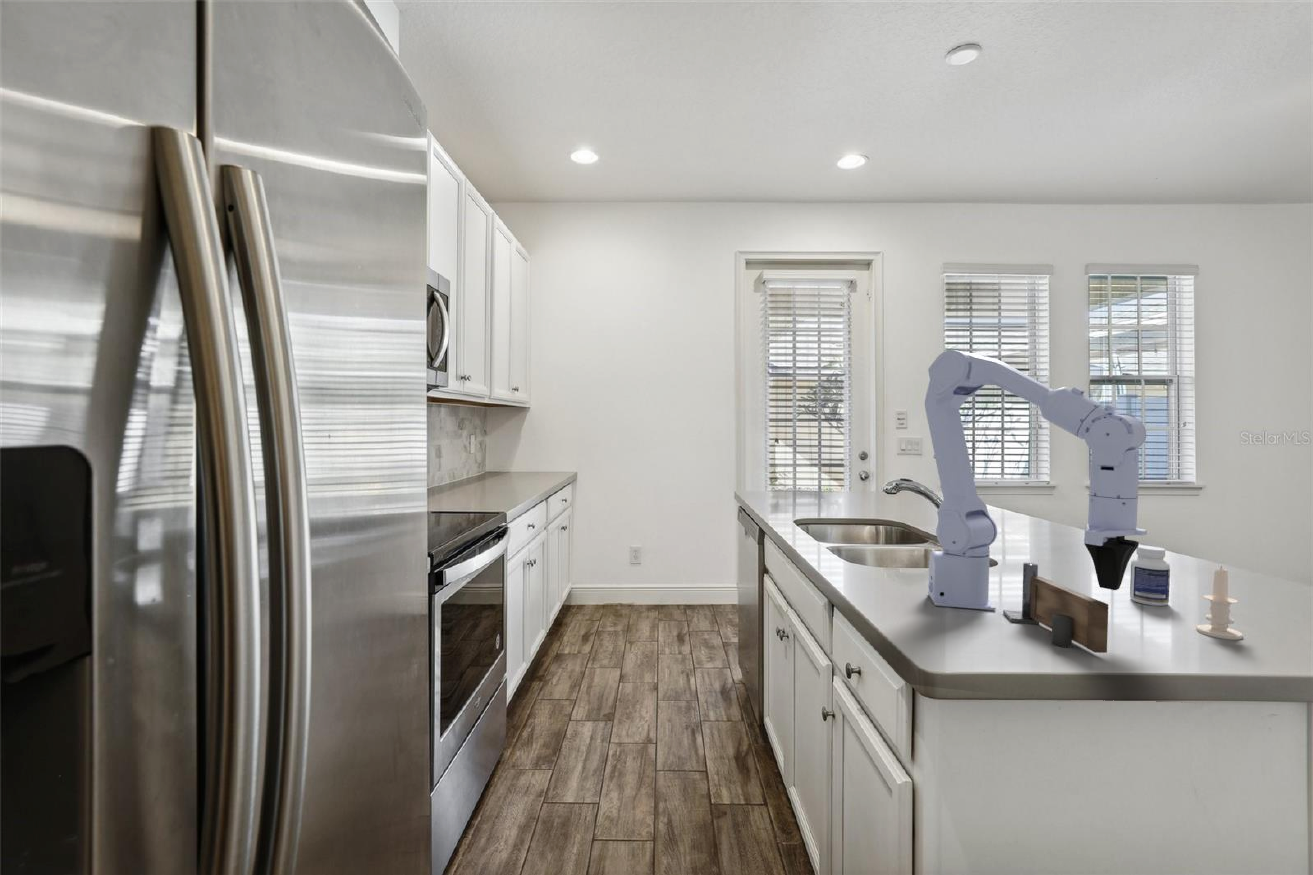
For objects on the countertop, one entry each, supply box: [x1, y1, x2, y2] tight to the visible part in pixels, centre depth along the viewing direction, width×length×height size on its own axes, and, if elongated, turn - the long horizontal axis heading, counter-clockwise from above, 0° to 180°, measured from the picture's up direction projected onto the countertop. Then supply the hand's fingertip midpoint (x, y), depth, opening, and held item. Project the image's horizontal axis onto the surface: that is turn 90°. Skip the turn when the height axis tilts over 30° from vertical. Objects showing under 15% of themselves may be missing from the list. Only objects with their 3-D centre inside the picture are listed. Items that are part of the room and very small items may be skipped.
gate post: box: [1002, 562, 1040, 625], centre depth 99 cm, size 4×4×9 cm
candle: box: [1196, 565, 1244, 641], centre depth 93 cm, size 5×5×10 cm
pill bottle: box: [1129, 545, 1171, 607], centre depth 109 cm, size 5×5×10 cm
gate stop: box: [1051, 614, 1073, 648], centre depth 88 cm, size 2×2×4 cm
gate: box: [1030, 575, 1109, 654], centre depth 90 cm, size 15×2×7 cm, turn 0°
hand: (1109, 588), depth 90 cm, fingers closed
